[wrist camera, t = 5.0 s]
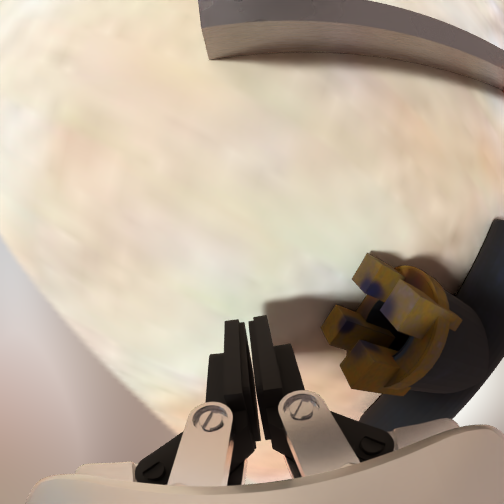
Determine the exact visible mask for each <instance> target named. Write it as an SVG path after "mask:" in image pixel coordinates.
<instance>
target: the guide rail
mask: <svg viewBox="0 0 504 504" xmlns="http://www.w3.org/2000/svg"><path fill="white" fill-rule="evenodd" d="M198 4H199V12H200V21H201V29H202V33H203V37H204V41H205V45H206V49H207V53H208V57H209V60H212V59H218V58H225V57H233V56H241V55H251V54H263V53H281V52H328V53H346V54H358V55H368V56H376V57H383V58H390V59H396V60H402V61H407V62H413V63H417V64H422V65H427V66H431V67H435V68H439V69H443V70H446V71H450V72H454V73H457V74H460V75H464V76H467V77H470V78H473V79H476V80H479V81H481V82H484V83H487V84H489V85H492V86H495V87H497V88H500V89H502V90H503V92H504V50H502V49H500V48H498V47H497V46H495V45H493V44H491V43H489V42H487V41H485V40H483V39H481V38H479V37H477V36H475V35H473V34H471V33H469V32H467V31H464V30H462V29H460V28H457V27H455V26H453V25H450V24H448V23H445V22H442V21H440V20H437V19H434V18H431V17H428V16H426V15H422V14H419V13H416V12H413V11H409V10H406V9H402V8H399V7H395V6H391V5H387V4H382V3H378V2H373V1H368V0H198Z"/></svg>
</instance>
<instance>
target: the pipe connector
mask: <svg viewBox="0 0 504 504" xmlns="http://www.w3.org/2000/svg"><path fill="white" fill-rule="evenodd" d="M352 280H353V281H354V282H355V283H356V284H357V285H358V286H359V288H360V289H361V290H362V291H363V292H364V293H365V294H367V295H366V297H365V299H364V300H363V302H362V303H361V305H360V306H359V308H358V309H357V311H356V312H354V311H352V310H349V309H347V308H344V307H342V306H339V305H337V304H336V305H335V307H334V308H333V310H332V311H331V313H330V314H329V316H328V317H327V319H326V320H325V322H324V323H323V325H322V326H321V329H322V331H323V333H324V335H325V337H326V339H327V341H328V343H329V345H332V346H335V347H338V348H342V349H345V350H347V356H346V358H345V359H344V360H343V361H342V363H341V364H340V367H341V369H342V371H343V373H344V375H345V377H346V379H347V381H348V383H349V385H350V387H351V389H356V390H362V391H368V392H375V393H382V395H381V397H380V398H379V399H378V400H377V401H376V402H375V403H374V404H373V405H372V406H371V407H370V408H369V409H368V410H367V411H366V412H365V413H364V414H363V415H362V416H361V418H360V420H359V422H361V423H364V424H367V425H370V426H373V427H376V428H379V429H382V430H384V431H386V432H391V431H394V429H395V428H400V427H406V426H411V425H416V424H421V423H425V422H430V421H434V420H438V419H444V418H448V419H453V418H454V417H455V416H456V414H457V413H458V412H459V411H460V410H461V409H462V408H463V407H464V406H465V405H466V404H467V403H468V402H469V400H470V399H471V398H472V397H473V396H474V395H475V393H476V392H477V391H478V390H479V389H480V387H481V386H482V385H483V384H484V382H485V381H486V380H487V379H488V377H489V376H490V375H491V373H492V372H493V371H494V370H495V368H496V367H497V365H498V364H499V363H500V361H501V360H502V358H503V357H504V220H494V222H493V224H492V226H491V229H490V231H489V233H488V236H487V238H486V240H485V242H484V244H483V246H482V249H481V251H480V253H479V255H478V257H477V259H476V261H475V263H474V265H473V267H472V269H471V271H470V272H469V274H468V276H467V278H466V280H465V282H464V283H463V285H462V287H461V289H460V290H459V292H458V294H457V295H456V297H455V296H454V295H452V294H451V293H449V292H447V291H446V290H444V289H443V288H442V287H441V285H440V284H439V283H438V282H437V281H436V280H435V279H434V278H433V277H431V276H430V275H428V274H427V273H425V272H424V271H422V270H420V269H418V268H416V267H413V266H407V265H406V266H398V267H395V268H394V267H392V266H390V265H389V264H387V263H385V262H383V261H382V260H380V259H378V258H376V257H374V256H373V255H371V254H369V253H367V254H366V256H365V258H364V259H363V261H362V263H361V264H360V266H359V268H358V270H357V271H356V273H355V275H354V276H353V278H352Z"/></svg>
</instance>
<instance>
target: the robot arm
mask: <svg viewBox="0 0 504 504" xmlns="http://www.w3.org/2000/svg"><path fill="white" fill-rule="evenodd" d="M253 319H254V321H249V332H250V341H251V351H252V360H253V368H252V363H251V357H250V352H249V346H248V340H247V335H246V329H245V323H244V322H241V323H239V320H238V319H237V320H229V321H225V334H224V353H220V354H210V356H209V365H208V377H207V390H206V403H203V404H200V405H199V406H197V407H195V408H194V409H193V410H192V411H191V412H190V414H189V416H188V419H187V422H186V425H185V429H184V431H183V432H182V433H180V434H179V435H177V436H176V437H175V438H173V439H172V440H171V441H169V442H168V443H166V444H165V445H163V446H162V447H160V448H159V449H157V450H156V451H154V452H153V453H151V454H150V455H148V456H147V457H145V458H144V459H142V460H141V461H140V462H139V463H135V464H134V463H133V462H119V463H96V464H95V463H94V464H83V465H82V466H80V467H78V469H77V470H76V471H75V474H60V475H54V476H49V477H45V478H43V479H41V480H40V481H38V482H37V483H36V484H35V486H34V487H33V489H32V490H31V492H30V494H29V496H28V498H27V500H26V503H25V504H504V434H503V433H502V432H501V431H500V430H498V429H497V428H495V427H493V426H490V425H469V426H463V427H459V426H458V424H457V423H456V422H455V421H454V420H452V419H448V418H444V419H438V420H434V421H430V422H425V423H421V424H416V425H411V426H406V427H400V428H395V429H394V431H391V432H386V431H384V430H382V429H379V428H376V427H373V426H370V425H367V424H364V423H361V422H359V421H356V420H353V419H350V418H347V417H345V416H342V415H340V414H337V413H334V412H332V411H329V409H328V407H327V405H326V404H325V402H324V400H323V399H322V398H321V397H320V395H318V394H316V393H315V392H312V391H308V390H305V389H304V385H303V382H302V379H301V375H300V372H299V369H298V365H297V362H296V359H295V355H294V352H293V349H292V346H291V344H285V345H279V346H273V343H272V338H271V333H270V329H269V324H268V319H267V315H265V316H258V317H253ZM253 369H254V375H253ZM254 378H255V383H254ZM255 387H256V392H255ZM256 394H257V399H258V404H259V410H260V415H261V420H262V425H263V430H264V435H265V440H270V439H271V442H272V448H273V449H274V450H276V451H278V452H280V453H281V454H283V455H284V459H285V462H286V464H287V467H288V470H289V472H290V475H291V477H292V479H288V480H282V481H275V482H267V483H259V484H248V485H245V479H246V470H247V458H248V457H249V456H250V455H251V454H252V453H253V452H254V449H256V442H255V441H261V437H260V428H259V419H258V410H257V401H256Z"/></svg>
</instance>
